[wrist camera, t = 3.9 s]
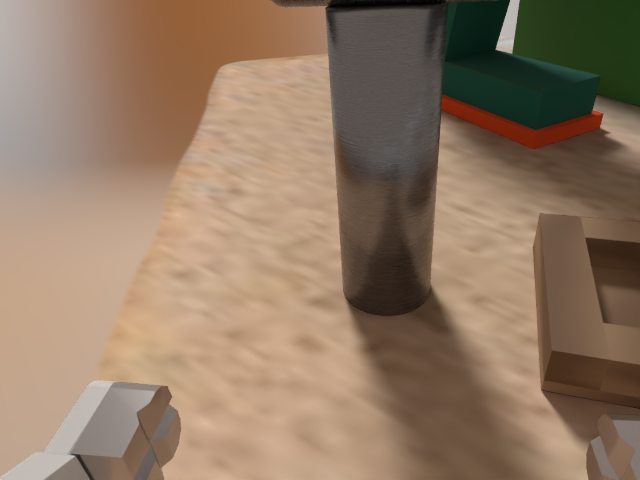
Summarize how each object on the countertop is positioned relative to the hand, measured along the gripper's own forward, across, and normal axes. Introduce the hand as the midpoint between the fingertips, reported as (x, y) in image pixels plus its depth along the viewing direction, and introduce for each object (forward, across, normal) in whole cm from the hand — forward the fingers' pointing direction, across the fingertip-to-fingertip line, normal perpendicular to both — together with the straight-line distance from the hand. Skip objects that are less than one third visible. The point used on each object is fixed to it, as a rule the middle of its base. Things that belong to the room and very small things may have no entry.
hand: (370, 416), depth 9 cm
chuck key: (+12, 0, -6) cm, 14 cm away
